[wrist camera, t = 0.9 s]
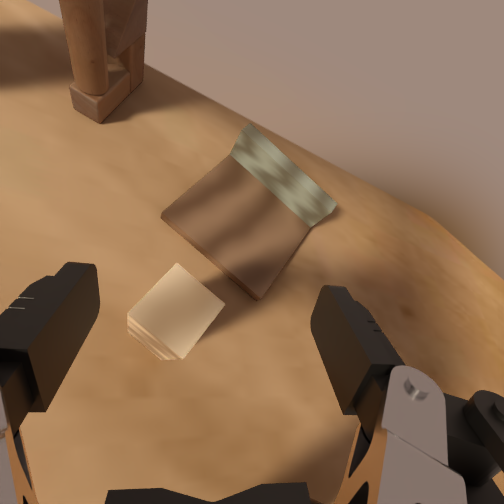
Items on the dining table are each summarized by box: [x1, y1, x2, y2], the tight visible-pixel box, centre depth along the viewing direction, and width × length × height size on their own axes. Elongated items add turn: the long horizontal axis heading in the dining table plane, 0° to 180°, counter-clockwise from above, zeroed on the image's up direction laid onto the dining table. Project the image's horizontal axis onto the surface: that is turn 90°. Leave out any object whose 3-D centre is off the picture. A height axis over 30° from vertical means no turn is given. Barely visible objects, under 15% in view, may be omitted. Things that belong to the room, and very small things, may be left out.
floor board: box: [161, 123, 337, 301], centre depth 37 cm, size 16×16×6 cm
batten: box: [128, 263, 225, 360], centre depth 25 cm, size 4×4×14 cm
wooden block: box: [59, 0, 148, 123], centre depth 31 cm, size 4×11×18 cm, turn 158°
